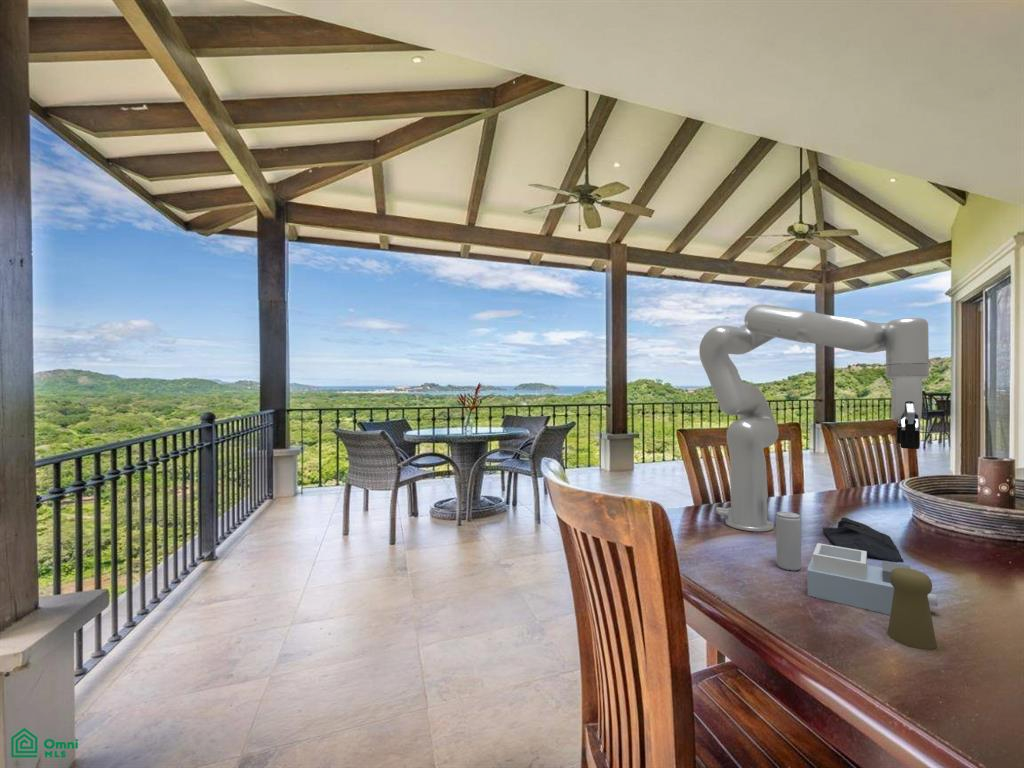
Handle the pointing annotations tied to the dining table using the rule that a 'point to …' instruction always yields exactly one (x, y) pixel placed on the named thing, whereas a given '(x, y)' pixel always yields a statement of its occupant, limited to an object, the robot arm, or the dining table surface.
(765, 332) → the robot arm
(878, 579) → the recessed tray block
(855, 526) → the dark slate chunk
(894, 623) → the olive pepper mill
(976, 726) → the dining table surface
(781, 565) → the beverage can
